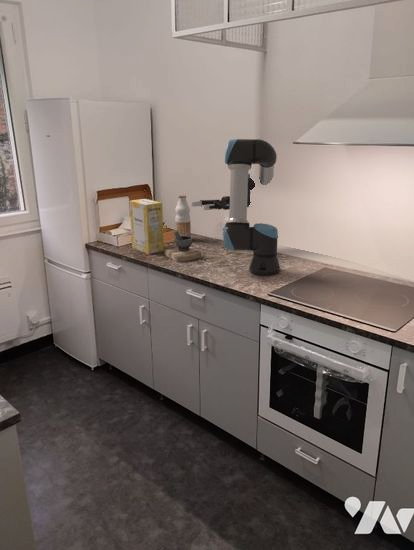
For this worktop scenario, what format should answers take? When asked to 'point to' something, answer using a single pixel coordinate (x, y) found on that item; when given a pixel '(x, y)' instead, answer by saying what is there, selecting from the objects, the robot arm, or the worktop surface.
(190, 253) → the block
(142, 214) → the pasta box
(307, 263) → the worktop surface
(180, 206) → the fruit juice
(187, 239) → the mortar and pestle
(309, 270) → the worktop surface
